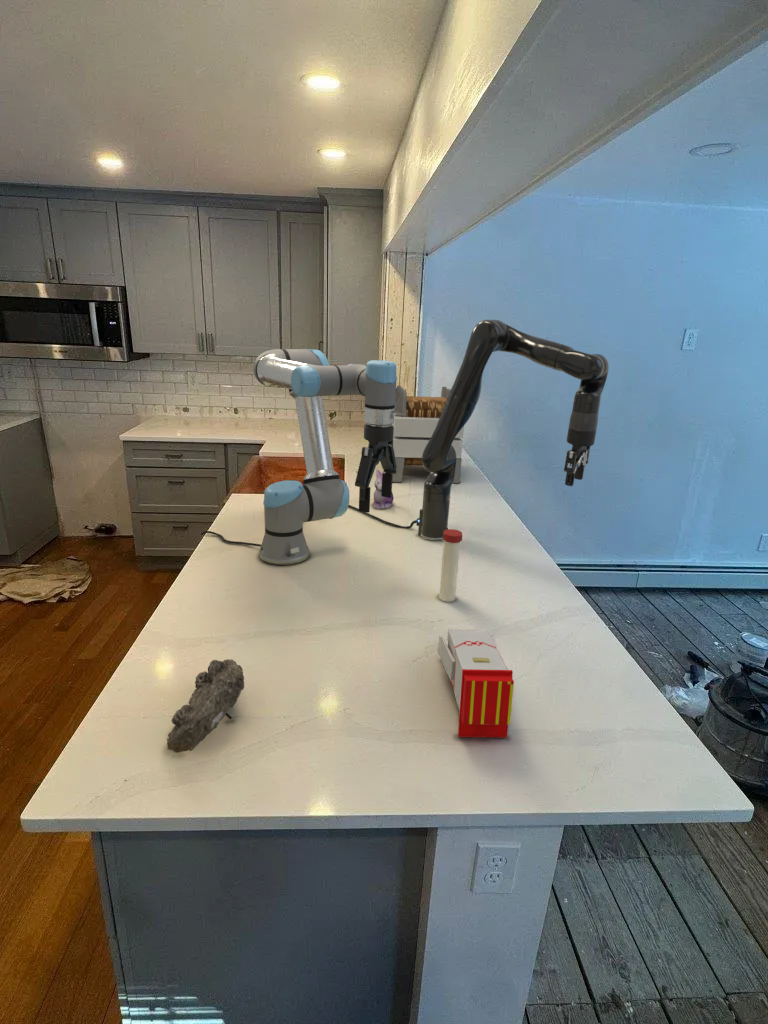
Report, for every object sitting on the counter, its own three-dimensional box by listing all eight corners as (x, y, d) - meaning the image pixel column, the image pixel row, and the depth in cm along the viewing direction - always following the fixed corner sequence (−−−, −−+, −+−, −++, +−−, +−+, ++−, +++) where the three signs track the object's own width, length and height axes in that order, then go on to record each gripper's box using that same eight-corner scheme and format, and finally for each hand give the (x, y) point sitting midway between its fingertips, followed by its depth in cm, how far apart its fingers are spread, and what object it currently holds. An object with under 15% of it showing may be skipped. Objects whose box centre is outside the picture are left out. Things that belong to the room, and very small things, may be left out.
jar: (436, 599, 156) (442, 535, 149) (441, 592, 160) (447, 529, 153) (452, 603, 154) (458, 538, 148) (457, 596, 158) (463, 532, 152)
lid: (440, 540, 150) (440, 533, 149) (446, 534, 154) (446, 527, 153) (458, 544, 148) (459, 537, 147) (464, 537, 152) (464, 531, 152)
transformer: (382, 463, 289) (386, 382, 275) (445, 464, 293) (451, 384, 279) (390, 482, 257) (394, 392, 243) (460, 483, 261) (468, 394, 247)
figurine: (377, 511, 221) (379, 474, 216) (366, 503, 229) (367, 467, 224) (399, 508, 225) (401, 471, 220) (387, 500, 233) (388, 465, 228)
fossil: (192, 660, 117) (244, 628, 112) (224, 691, 120) (276, 661, 115) (142, 746, 98) (202, 712, 93) (182, 779, 101) (242, 748, 96)
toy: (488, 613, 130) (523, 677, 101) (484, 667, 133) (517, 744, 104) (435, 612, 130) (455, 676, 101) (432, 666, 133) (451, 743, 103)
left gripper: (370, 434, 131) (367, 520, 138) (411, 418, 152) (406, 493, 159) (342, 430, 133) (340, 515, 141) (386, 415, 155) (382, 489, 162)
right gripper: (577, 422, 167) (568, 474, 173) (561, 428, 156) (552, 484, 162) (603, 425, 163) (593, 479, 169) (588, 433, 152) (578, 490, 158)
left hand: (375, 503), depth 150 cm, fingers open, 13 cm apart
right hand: (573, 482), depth 165 cm, fingers open, 8 cm apart
